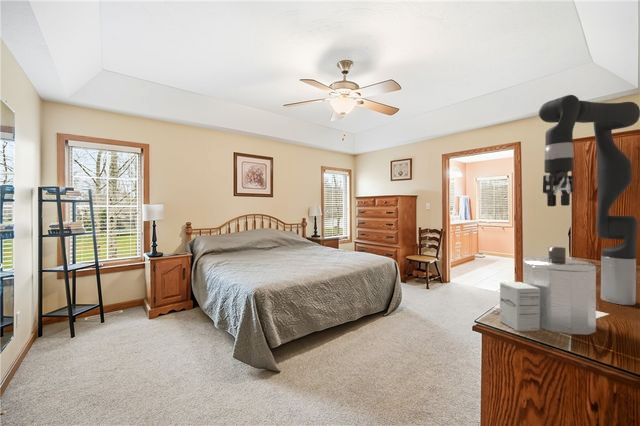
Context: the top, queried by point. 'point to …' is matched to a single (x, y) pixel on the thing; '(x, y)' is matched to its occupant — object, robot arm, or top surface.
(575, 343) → the top surface
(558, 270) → the cover
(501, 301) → the supplement box
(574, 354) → the top surface
